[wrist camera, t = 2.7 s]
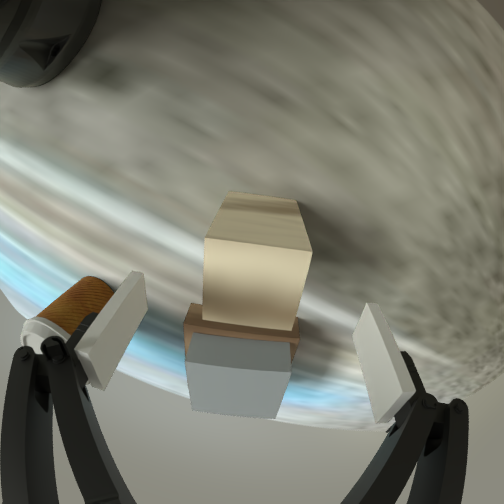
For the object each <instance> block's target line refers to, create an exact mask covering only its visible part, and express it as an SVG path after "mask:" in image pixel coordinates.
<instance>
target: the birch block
mask: <svg viewBox="0 0 504 504" xmlns="http://www.w3.org/2000/svg"><path fill="white" fill-rule="evenodd" d="M312 253H313V251H312V248H311V245H310V241H309V238H308V235H307V232H306V229H305V226H304V222H303V219H302V216H301V213H300V210H299V207H298V204H297V201H296V200H291V199H285V198H278V197H271V196H264V195H256V194H248V193H240V192H232V191H229V192H228V194H227V196H226V197H225V199H224V201H223V203H222V205H221V207H220V209H219V211H218V213H217V215H216V217H215V219H214V221H213V223H212V225H211V226H210V228H209V230H208V232H207V234H206V236H205V246H204V270H203V311H202V319H203V320H209V321H216V322H222V323H229V324H237V325H244V326H252V327H260V328H269V329H279V330H289V331H292V327H293V324H294V321H295V317H296V314H297V310H298V307H299V303H300V299H301V296H302V292H303V288H304V284H305V281H306V277H307V273H308V269H309V265H310V261H311V257H312Z"/></svg>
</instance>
